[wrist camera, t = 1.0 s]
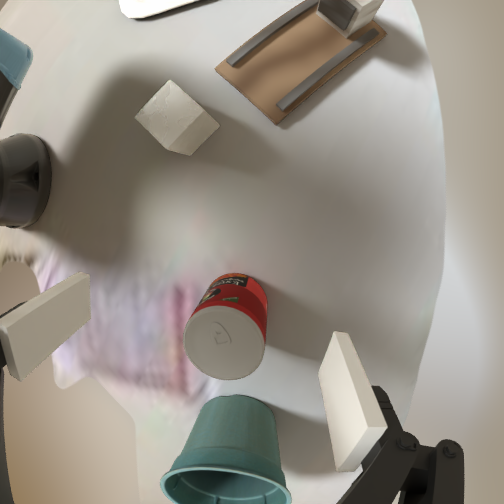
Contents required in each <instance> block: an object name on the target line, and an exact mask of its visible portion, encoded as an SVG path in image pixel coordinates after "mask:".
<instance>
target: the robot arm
mask: <svg viewBox="0 0 504 504" xmlns="http://www.w3.org/2000/svg"><path fill="white" fill-rule="evenodd" d="M32 60H33V52H32V50H31V48H30V47H29V46H27V45H26V44H24V43H23V42H21V41H20V40H18V39H17V38H15V37H13V36H12V35H10V34H9V33H7V32H5V31H4V30H2V29H1V28H0V128H1V126H2V123H3V121H4V119H5V116H6V114H7V112H8V110H9V107H10V105H11V103H12V101H13V99H14V97H15V95H16V93H17V91H18V90H20V88H21V83H22V81H23V79H24V77H25V75H26V73H27V71H28V69H29V67H30V65H31V63H32ZM50 186H51V165H50V159H49V155H48V152H47V149H46V147H45V145H44V144H43V142H42V141H41V140H40V139H39V138H38V137H36V136H35V135H32V134H22V133H21V134H15V135H13V136H10V137H9V138H6V139H3V140H0V226H6V227H9V228H13V229H18V228H22V227H26V226H29V225H31V224H33V223H34V222H36V221H37V220H38V218H39V217H40V216H41V214H42V212H43V211H44V208H45V206H46V203H47V200H48V197H49V192H50ZM90 319H91V310H90V275H88V274H85V273H82V272H78V273H76V274H74V275H72V276H70V277H69V278H67V279H65V280H63V281H62V282H60V283H58V284H56V285H55V286H53V287H51V288H50V289H48V290H46V291H44V292H43V293H41V294H39V295H38V296H36V297H34V298H33V299H31V300H29V301H27V302H23V303H20V304H18V305H17V306H15V307H14V308H13V309H10V310H9V311H8V312H5V313H4V314H2V315H1V316H0V504H14V501H13V497H12V493H11V487H10V482H9V476H8V469H7V461H6V453H5V442H4V426H3V425H4V424H3V388H4V371H3V367H4V366H5V365H6V364H7V366H8V370H9V373H10V375H11V376H13V377H14V378H16V379H18V380H19V381H22V380H24V379H25V378H26V377H27V375H29V374H30V373H31V372H32V371H33V370H34V369H35V368H36V367H37V366H38V365H39V364H41V363H42V362H43V361H44V360H45V359H46V358H47V357H48V356H49V355H50V354H52V353H53V352H54V351H55V350H56V349H57V348H58V347H59V346H60V345H61V344H63V343H64V342H65V341H66V340H67V339H68V338H69V337H70V336H72V335H73V334H74V333H75V332H76V331H77V330H78V329H80V328H81V327H82V326H83V325H84V324H85V323H87V322H88V321H89V320H90ZM318 377H319V381H320V386H321V391H322V396H323V401H324V406H325V412H326V417H327V422H328V427H329V433H330V438H331V444H332V450H333V455H334V461H335V467H336V472H354V471H355V470H356V469H357V468H358V466H359V465H360V464H362V469H363V472H362V473H361V474H360V475H359V476H358V477H357V479H356V480H355V481H354V482H353V483H352V485H351V487H350V488H349V489H348V490H347V492H346V493H345V494H344V495H343V496H342V498H341V499H340V500H339V501H338V502H337V503H336V504H392V502H393V501H394V499H395V497H396V495H397V494H398V492H399V491H401V493H400V497H399V502H398V504H464V453H463V449H462V448H461V446H460V445H459V444H458V443H456V442H455V441H452V440H448V439H445V440H442V441H440V442H439V443H438V444H437V446H436V447H429V446H423V445H420V444H419V441H418V440H417V438H416V437H415V436H413V435H412V434H410V433H408V432H405V431H403V429H402V426H401V424H400V422H399V420H398V417H397V415H396V413H395V411H394V410H393V406H392V404H391V403H390V400H389V397H388V395H387V393H386V392H385V391H384V390H383V389H382V388H381V387H380V386H371V385H370V382H369V380H368V378H367V375H366V373H365V371H364V368H363V366H362V364H361V361H360V359H359V357H358V355H357V352H356V350H355V348H354V346H353V343H352V341H351V339H350V337H349V334H348V333H344V332H337V331H334V333H333V335H332V338H331V341H330V344H329V346H328V349H327V352H326V354H325V357H324V359H323V362H322V364H321V367H320V370H319V372H318Z"/></svg>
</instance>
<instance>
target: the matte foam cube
mask: <svg viewBox="0 0 504 504" xmlns="http://www.w3.org/2000/svg"><path fill="white" fill-rule="evenodd" d="M134 118H135V119H136V120H137V121H138V122H139V123H141V124H142V125H143V126H144V127H145V128H146V129H147V130H148V131H149V132H150V133H151V134H152V135H153V136H154V137H155V138H156V139H157V140H158V142H159V143H160V144H161V145H162V146H163V147H164V148H165V149H167V150H170V151H174V152H178V153H181V154H185V155H188V156H191V155H192V154H193V153H194V152H195V151H196V150H197V149H198V148H199V147H200V146H201V145H202V143H203V142H204V141H205V140H206V139H207V138H208V137H209V136H210V135H211V134H213V133H214V132H215V131H216V130H217V129H218V128H219V127H220V125H219V124H218V123H217V122H216V121H215V120H214V119H213V118H212V117H211V116H210V115H209V114H208V113H207V112H206V111H205V110H204V109H203V108H202V107H201V106H200V105H199V104H197V103H196V102H195V101H194V100H193V99H192V98H191V97H190V96H189V95H187V94H186V93H185V92H184V91H183V90H182V89H181V88H180V87H178V86H177V85H176V84H175V83H174V82H173V81H171V80H169V81H168V82H167V83H165V84H164V85H163V86H162V87H161V88H160V89H159V90H158V91H157V92H156V93H155V94H154V95H153V97H152V98H151V99H150V100H149V101H148V102H147V103H146V104H145V105H144V106H143V107H142V109H141V110H140V111H139V112H138V114H137V115H136V116H135V117H134Z"/></svg>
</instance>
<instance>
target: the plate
mask: <svg viewBox="0 0 504 504" xmlns="http://www.w3.org/2000/svg"><path fill="white" fill-rule="evenodd" d="M196 1H200V0H119V3H120V7H121V11H122V13H124V14H125V15H126V16H127V17H129V18H130V19H132V18H146V17H149V16H152V15H156V14H159V13H163V12H166V11H168V10H171V9H174V8H177V7H181V6H184V5H187V4H190V3H193V2H196Z"/></svg>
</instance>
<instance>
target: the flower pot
mask: <svg viewBox="0 0 504 504" xmlns="http://www.w3.org/2000/svg"><path fill="white" fill-rule="evenodd" d="M160 487H161V489H162V491H163V493H164V494H165V496H166V497H167V498H168V499H169V500H171V501H172V502H173V503H175V504H291V502H292V498H291V494H290V492H289V490H288V489H287V488H286V482H285V476H284V473H283V471H282V470H281V462H280V455H279V447H278V439H277V431H276V422H275V418H274V415H273V413H272V411H271V410H270V409H269V408H268V407H267V406H266V405H265V404H263V403H262V402H260V401H258V400H256V399H253V398H250V397H247V396H242V395H232V396H229V397H222V396H219V397H216V398H214V399H211V400H210V401H208V402H207V403H206V404H205V405H204V406H203V407H202V409H201V411H200V413H199V415H198V418H197V420H196V422H195V424H194V427H193V429H192V431H191V433H190V435H189V438H188V440H187V442H186V444H185V446H184V448H183V450H182V452H181V454H180V455H179V456H178V457H177V458H176V460H175V461H174V463H173V465H172V467H171V469H170V471H169V472H167V473H166V474H165V475H164V476H163V477H162V478H161V480H160Z"/></svg>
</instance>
